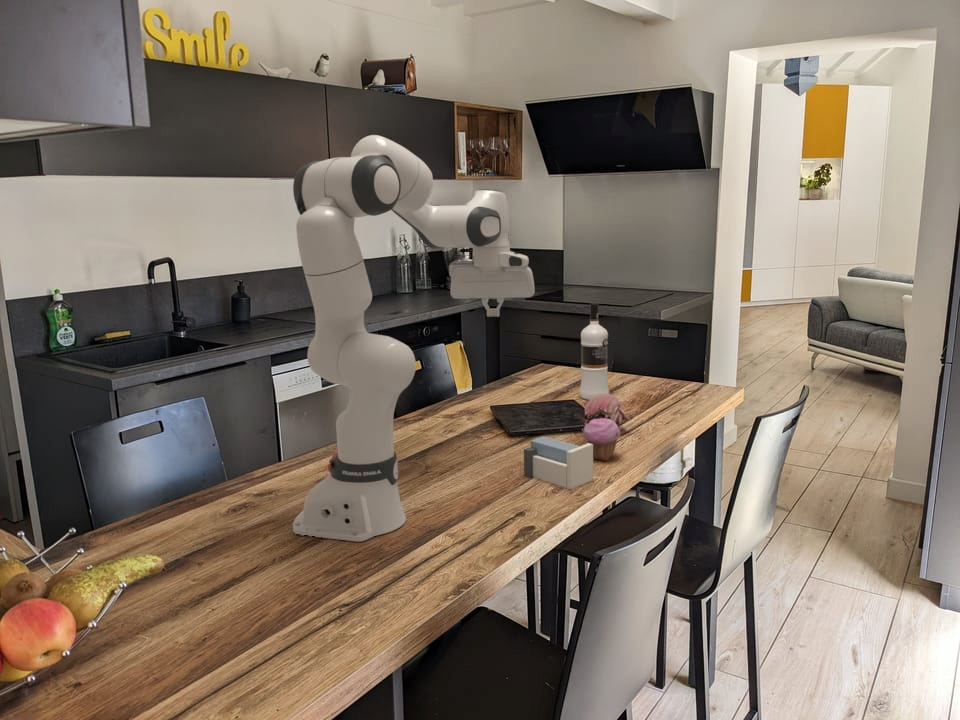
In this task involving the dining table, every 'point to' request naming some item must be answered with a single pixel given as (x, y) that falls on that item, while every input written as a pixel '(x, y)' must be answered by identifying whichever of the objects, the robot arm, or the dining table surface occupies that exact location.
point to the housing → (561, 467)
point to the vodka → (594, 357)
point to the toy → (604, 409)
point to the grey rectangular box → (552, 448)
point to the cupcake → (602, 437)
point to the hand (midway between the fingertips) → (493, 316)
